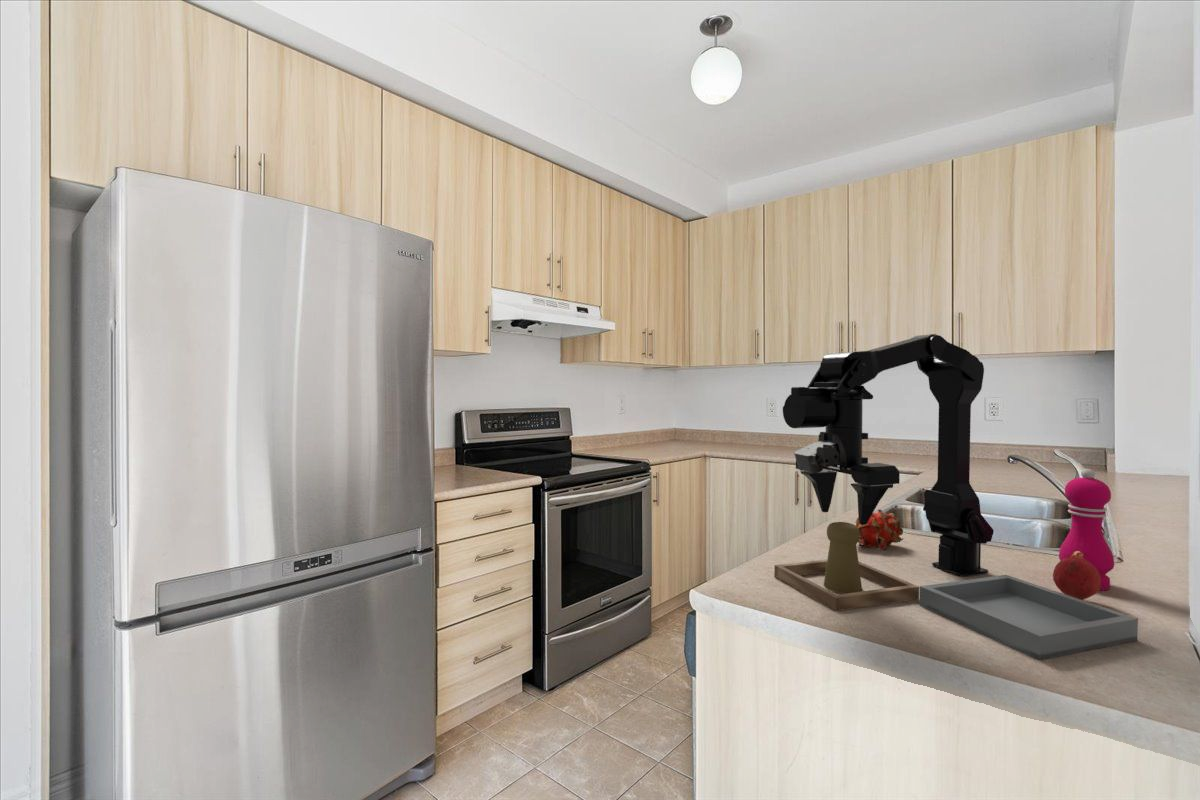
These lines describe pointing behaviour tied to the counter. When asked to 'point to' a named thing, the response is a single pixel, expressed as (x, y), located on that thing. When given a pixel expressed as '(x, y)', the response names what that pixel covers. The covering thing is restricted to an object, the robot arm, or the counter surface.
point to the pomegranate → (1077, 577)
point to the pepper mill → (1088, 524)
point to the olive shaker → (843, 558)
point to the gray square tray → (1029, 616)
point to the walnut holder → (893, 593)
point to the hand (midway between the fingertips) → (843, 518)
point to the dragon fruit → (880, 530)
